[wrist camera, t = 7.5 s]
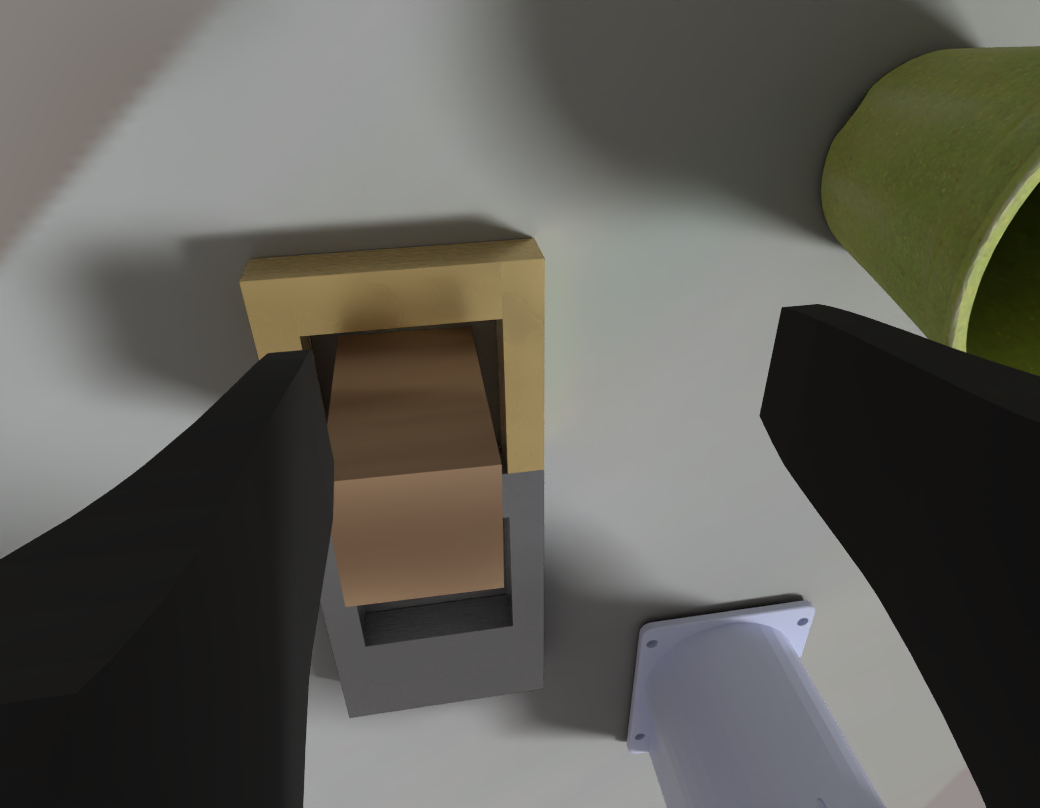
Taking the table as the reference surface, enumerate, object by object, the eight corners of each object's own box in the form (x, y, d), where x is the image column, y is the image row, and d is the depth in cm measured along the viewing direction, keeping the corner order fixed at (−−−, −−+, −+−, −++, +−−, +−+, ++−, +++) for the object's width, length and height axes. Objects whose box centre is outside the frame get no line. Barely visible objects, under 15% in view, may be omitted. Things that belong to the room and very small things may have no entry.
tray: (536, 656, 31) (543, 688, 30) (351, 683, 30) (349, 718, 29) (534, 237, 20) (544, 258, 19) (249, 258, 20) (239, 282, 18)
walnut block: (475, 432, 24) (503, 587, 18) (355, 443, 23) (345, 607, 18) (470, 326, 22) (501, 464, 16) (338, 335, 21) (320, 482, 15)
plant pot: (779, 344, 24) (947, 516, 17) (742, 54, 19) (965, 123, 12) (1047, 247, 24) (1337, 380, 16) (1087, -79, 18) (1541, -92, 11)
